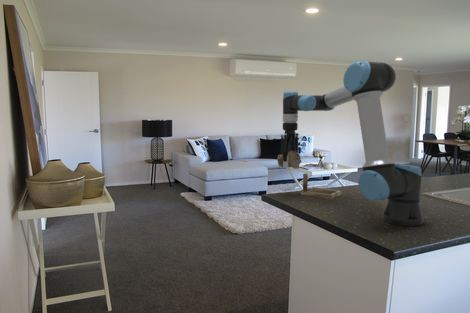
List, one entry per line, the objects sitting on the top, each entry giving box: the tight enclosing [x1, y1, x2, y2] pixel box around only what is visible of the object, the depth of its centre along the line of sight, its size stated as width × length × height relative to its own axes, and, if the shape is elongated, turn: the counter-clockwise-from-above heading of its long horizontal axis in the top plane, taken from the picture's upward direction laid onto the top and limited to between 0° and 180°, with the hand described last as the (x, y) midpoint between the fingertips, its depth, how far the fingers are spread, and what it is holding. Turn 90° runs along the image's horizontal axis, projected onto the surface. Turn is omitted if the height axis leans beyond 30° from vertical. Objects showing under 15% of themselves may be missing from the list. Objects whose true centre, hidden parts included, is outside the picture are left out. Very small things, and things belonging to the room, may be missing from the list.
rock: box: [276, 149, 302, 170], centre depth 195 cm, size 12×7×10 cm, turn 46°
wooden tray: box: [300, 173, 343, 200], centre depth 198 cm, size 13×17×11 cm
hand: (289, 166), depth 196 cm, fingers closed on rock, 7 cm apart
